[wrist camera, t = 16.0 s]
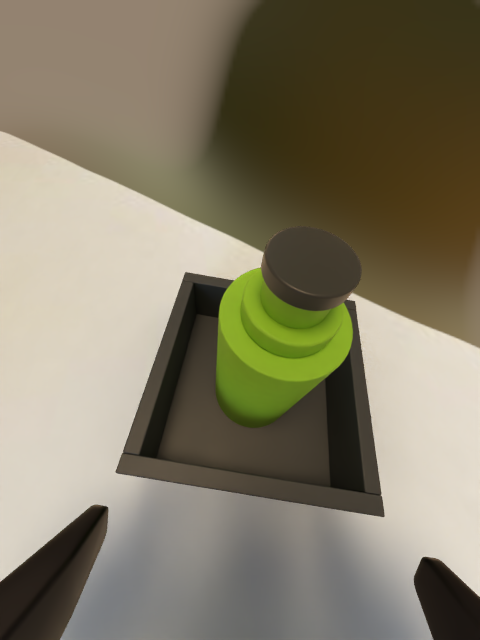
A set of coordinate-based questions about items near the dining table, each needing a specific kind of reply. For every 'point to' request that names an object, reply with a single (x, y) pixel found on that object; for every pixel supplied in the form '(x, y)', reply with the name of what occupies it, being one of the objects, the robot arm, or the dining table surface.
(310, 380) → the green bottle
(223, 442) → the tote
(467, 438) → the dining table surface
